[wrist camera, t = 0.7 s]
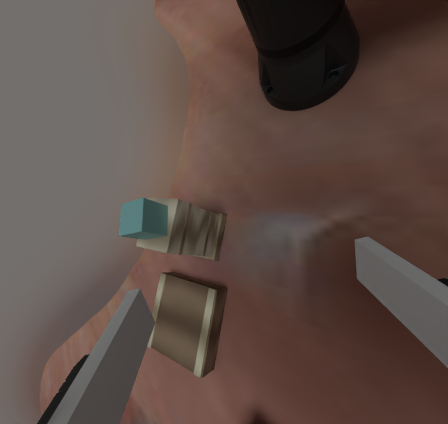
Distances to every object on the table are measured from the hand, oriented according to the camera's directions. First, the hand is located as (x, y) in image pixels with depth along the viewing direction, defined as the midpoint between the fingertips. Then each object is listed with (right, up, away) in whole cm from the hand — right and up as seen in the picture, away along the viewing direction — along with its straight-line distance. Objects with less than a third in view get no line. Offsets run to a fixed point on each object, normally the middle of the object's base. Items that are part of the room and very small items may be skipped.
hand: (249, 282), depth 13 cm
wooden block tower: (-5, 0, +26) cm, 26 cm away
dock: (-7, -14, +24) cm, 28 cm away
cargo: (-11, +3, +16) cm, 19 cm away
